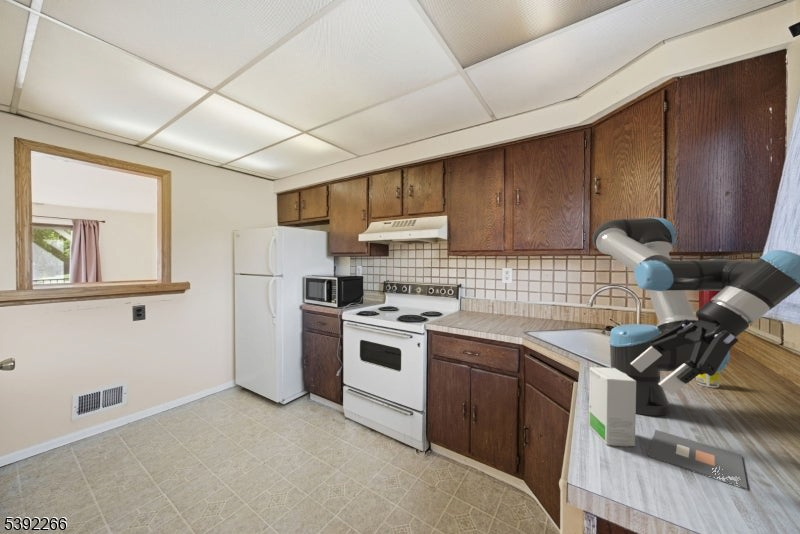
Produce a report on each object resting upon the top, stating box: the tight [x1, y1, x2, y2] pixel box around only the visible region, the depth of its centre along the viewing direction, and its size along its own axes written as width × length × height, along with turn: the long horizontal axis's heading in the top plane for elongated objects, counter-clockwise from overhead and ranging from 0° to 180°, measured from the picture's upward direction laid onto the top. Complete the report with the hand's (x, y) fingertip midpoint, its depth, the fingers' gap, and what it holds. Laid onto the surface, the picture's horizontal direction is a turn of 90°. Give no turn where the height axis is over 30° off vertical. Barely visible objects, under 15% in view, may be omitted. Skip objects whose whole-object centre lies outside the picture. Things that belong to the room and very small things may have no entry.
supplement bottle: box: [695, 372, 720, 389], centre depth 101 cm, size 6×6×10 cm
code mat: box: [647, 429, 749, 491], centre depth 63 cm, size 14×14×1 cm
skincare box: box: [588, 366, 637, 447], centre depth 71 cm, size 8×7×16 cm
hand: (648, 377), depth 68 cm, fingers open, 13 cm apart
